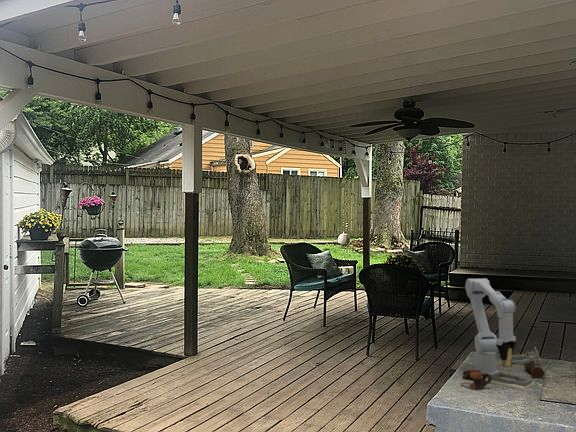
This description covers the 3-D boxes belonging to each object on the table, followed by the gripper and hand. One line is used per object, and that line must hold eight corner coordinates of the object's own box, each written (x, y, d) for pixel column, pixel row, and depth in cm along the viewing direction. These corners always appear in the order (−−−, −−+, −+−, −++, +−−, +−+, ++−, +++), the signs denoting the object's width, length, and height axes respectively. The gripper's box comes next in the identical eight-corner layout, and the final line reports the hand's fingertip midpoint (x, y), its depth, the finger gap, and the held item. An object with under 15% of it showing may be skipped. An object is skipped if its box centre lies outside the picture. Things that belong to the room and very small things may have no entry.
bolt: (529, 373, 255) (540, 381, 240) (519, 368, 255) (529, 375, 241) (535, 363, 255) (546, 370, 240) (525, 357, 255) (536, 364, 241)
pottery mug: (463, 390, 225) (459, 370, 229) (467, 395, 232) (462, 375, 236) (493, 385, 221) (488, 365, 225) (495, 390, 228) (490, 370, 233)
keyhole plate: (488, 382, 234) (488, 376, 234) (500, 377, 242) (500, 371, 242) (522, 389, 223) (522, 383, 223) (533, 384, 231) (533, 378, 231)
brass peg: (500, 366, 235) (500, 347, 235) (504, 364, 238) (504, 346, 238) (509, 367, 232) (509, 349, 232) (513, 366, 235) (513, 347, 235)
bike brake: (539, 358, 273) (498, 361, 280) (537, 345, 274) (495, 348, 280) (543, 365, 261) (499, 368, 267) (540, 351, 261) (497, 354, 267)
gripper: (507, 331, 227) (508, 363, 227) (522, 327, 237) (522, 357, 237) (491, 329, 232) (491, 360, 232) (506, 324, 242) (506, 355, 242)
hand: (506, 359), depth 235 cm, fingers closed on brass peg, 4 cm apart
